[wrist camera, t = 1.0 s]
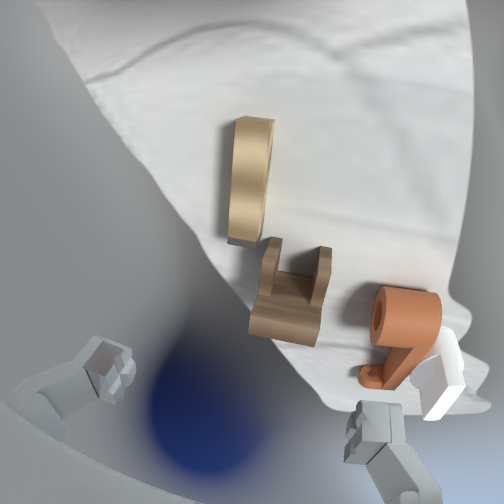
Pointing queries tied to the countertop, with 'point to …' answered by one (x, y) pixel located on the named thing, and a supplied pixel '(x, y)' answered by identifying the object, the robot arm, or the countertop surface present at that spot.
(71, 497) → the robot arm
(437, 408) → the white piece
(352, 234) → the countertop surface
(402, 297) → the crank
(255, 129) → the rail
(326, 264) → the wooden u-shaped bracket
